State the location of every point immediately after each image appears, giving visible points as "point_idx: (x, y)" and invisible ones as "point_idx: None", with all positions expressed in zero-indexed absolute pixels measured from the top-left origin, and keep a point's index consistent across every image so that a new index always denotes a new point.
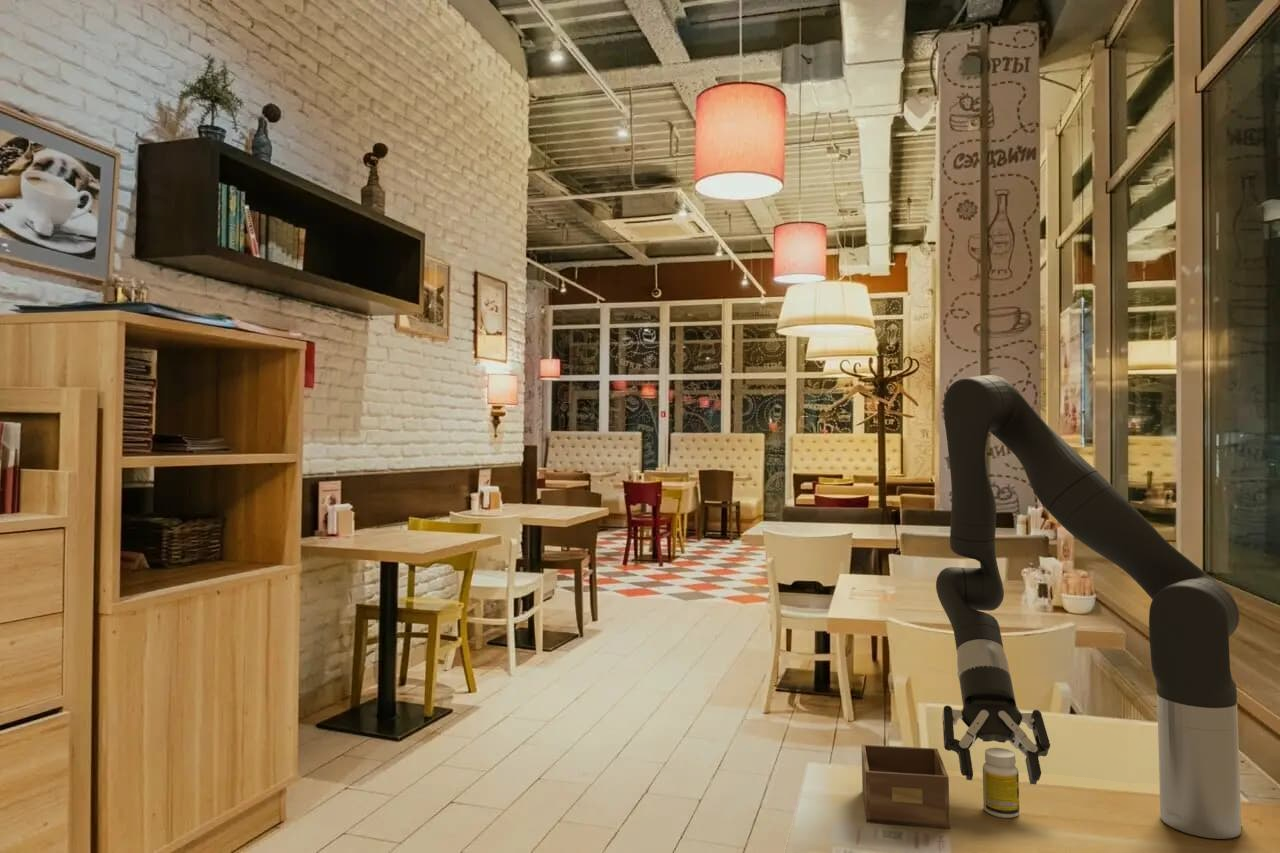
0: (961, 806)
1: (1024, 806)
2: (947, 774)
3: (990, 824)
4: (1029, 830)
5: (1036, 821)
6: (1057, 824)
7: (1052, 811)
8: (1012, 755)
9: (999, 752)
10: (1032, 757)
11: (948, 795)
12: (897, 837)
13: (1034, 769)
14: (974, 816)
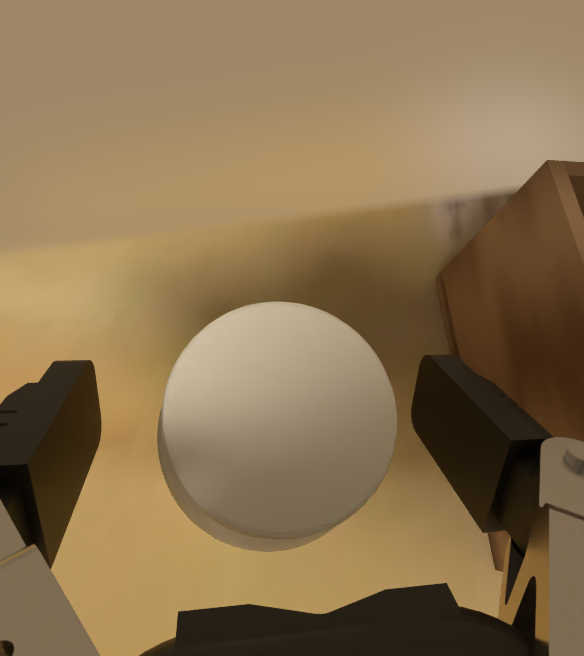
0: (402, 474)
1: (136, 542)
2: (556, 189)
3: None
4: (181, 307)
5: (131, 388)
6: None
7: None
8: (195, 347)
9: (289, 404)
10: (6, 442)
11: (498, 214)
12: None
13: (49, 380)
14: None
